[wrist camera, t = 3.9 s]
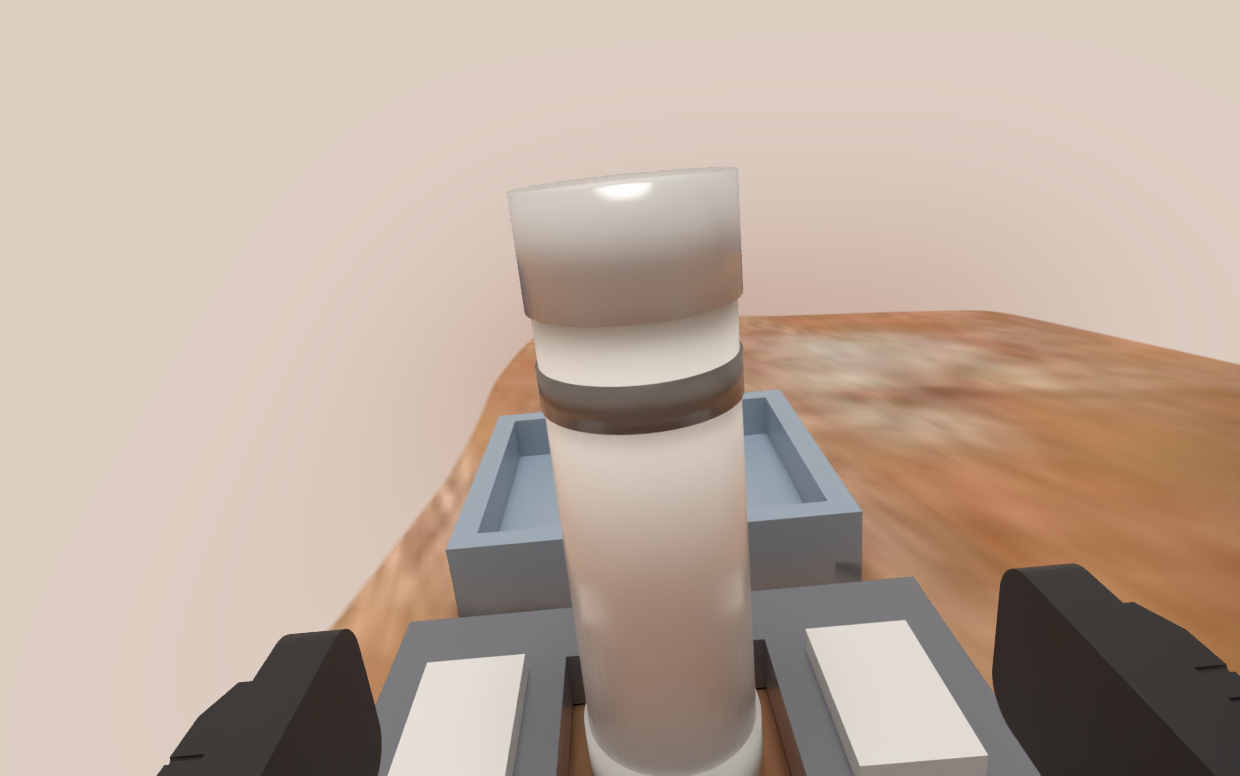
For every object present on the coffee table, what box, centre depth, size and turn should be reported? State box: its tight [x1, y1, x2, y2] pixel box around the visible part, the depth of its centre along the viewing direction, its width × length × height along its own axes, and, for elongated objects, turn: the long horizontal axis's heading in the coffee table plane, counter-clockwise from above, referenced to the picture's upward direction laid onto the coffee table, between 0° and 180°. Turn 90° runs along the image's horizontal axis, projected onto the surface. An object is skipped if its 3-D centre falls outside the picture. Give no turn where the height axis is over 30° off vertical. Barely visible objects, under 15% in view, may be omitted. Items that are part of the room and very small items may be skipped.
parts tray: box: [446, 389, 862, 618], centre depth 27 cm, size 12×11×2 cm
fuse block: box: [375, 577, 1041, 776], centre depth 16 cm, size 14×9×2 cm, turn 91°
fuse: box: [507, 167, 764, 776], centre depth 14 cm, size 4×4×13 cm
